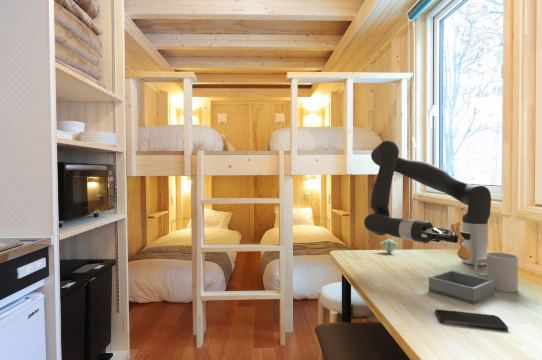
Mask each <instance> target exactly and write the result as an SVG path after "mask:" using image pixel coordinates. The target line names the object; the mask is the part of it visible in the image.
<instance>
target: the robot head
mask: <svg viewBox="0 0 542 360" xmlns="http://www.w3.org/2000/svg"><path fill="white" fill-rule="evenodd" d="M380 245H381V246H382V247H383V248H384V250H385V252H386V253H387V254H391V253H393V252H394V249H396V248H397V247H398V245H399V244H398V242H395V241H394V240H393V239H391V238H387V239H386V240H383V241H381V242H380Z"/></svg>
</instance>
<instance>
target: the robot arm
mask: <svg viewBox="0 0 542 360" xmlns="http://www.w3.org/2000/svg"><path fill="white" fill-rule="evenodd" d="M399 155H400V148H399V145H398V144H397V143H396V142H395V141H393V140H388V139H387V140H385V141H384V140H383V141H382V142H381V143H379V145H377V146H376V147H375V148H374V149H373V150H372V152H371V154H370V158H371V160H372V161H373V162H374V164H375V165H376V166H378V167H379V168H378V173H377V176H376V178H375V182H374V184H373V187H372V191H371V196H370V197H371V198H370V209H371V210H372V211H373V213H371V214H368V215H367V216H366V217H365V218H364V221H363V224H364V227H365V228H366V229H367V231H369V232H371V233H374V234H375V235H378V236H385V235H389V236H391V237H395V238H399V239H405V240H408V241H411V242H412V241H413V242H418V243H422V244H428V243H430V242H436V243H439V242H442V243H444V242H447V243H453V244H454V243H455V244H457V243H459V238H458V236H457V235H456V234H455V233H454V231H453V230H452V228H447V227H434V226H433V223H432V222H430V221H427V220H419V219H412V218H409V219H405V218H396V217H391V216H390V208H389V204H390V198H391V197H390V196H391V190H392V182H393V179H394V178H393V177H394V173H395V172H396V173H397V174H400V175H402V176H405V177H407V178H409V179H411V180H413V181H415V182H418V183H419V184H421V185H424V186H426V187H428V188H430V189H433V190H436V191H437V192H441V193H443V194H446V195H448V196H450V197H452V198H454V199H455V200H457V201H458V202H459V203H461V204H463V205H466V206H467V212H466V213H465V214H463V215H462V224H461V227H462V231H461V229H460V230H459V231H460V233H461V234H462V237H463V238H464V241H463V242H462V243H461V244H462V245H463V246H465V247H466V248H468V249H470V251H471V252H472V257H471V258H470V259H469V260H462V259H461V261H462V263H464V264H468V265H473V266H475V262H476V260H477V259H479V258H487V253H489V252H488V250H489V249H488V246H489V245H488V244H489V243H488V241H489V240H488V239H489V237H488V235H489V233H488V232H489V230H488V229H489V227H488V225H489V223H488V221H489V218H490V216H491V207H492V196H491V195H492V194H491V191H490V190H489V188H488V187H486V186H485V185H479V184H469V183H465V182H463V181H461V180H458V179H456V178H454V177H452V176H451V175H450V174H449V173H448V172H447V171H445V170H444V169H442V168H440V167H438V166H436V165H434V164H432V163H429V162H427V161H422V160H415V159H408V158H404V157H402V156H399ZM453 233H454V234H453ZM461 234H460V235H461ZM478 266H487V264H486V263H483V262H481V263H479V264H478Z"/></svg>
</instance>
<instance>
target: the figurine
mask: <svg viewBox="0 0 542 360" xmlns="http://www.w3.org/2000/svg"><path fill="white" fill-rule="evenodd" d="M460 226H462V224H461V222H460V221H458V222H453V223H451V224H450V227H451V228H450V229H452V230H453V231H454V232H453V233H454V235H455V234H456V235H457V236H458V243H459V246H460V248H459V249H458V250H457V253H456V255H457V256H458V258H459V259H461V261H462V260H469V259H470V258H471V257H472V252H471V251H470V249H468V248H466V247H465V246H463V245H462V242H463V241H464V238H463V237H462V234H461V233H460V232H461V228H460ZM459 230H460V231H459ZM460 234H461V235H460Z"/></svg>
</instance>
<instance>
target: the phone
mask: <svg viewBox="0 0 542 360" xmlns="http://www.w3.org/2000/svg"><path fill="white" fill-rule="evenodd" d="M434 315H435V317H436V318H437V320H438V322H439V323H440V324H442V325H446V326H447V325H448V326H453V327H464V328H473V329H480V330H490V331H498V332H509V331H508V330H509V327H508V325H507V324H506V323H505V322H504V321H503V320H502V319H501V318H500V317H499V316H497V315H495V314H494V315H493V314H485V313H484V314H483V313H475V312H465V311H456V310H445V309H439V308H438V309H437V308H436V309H435V311H434Z"/></svg>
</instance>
